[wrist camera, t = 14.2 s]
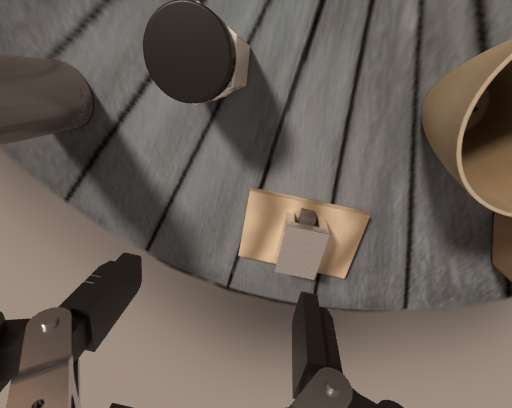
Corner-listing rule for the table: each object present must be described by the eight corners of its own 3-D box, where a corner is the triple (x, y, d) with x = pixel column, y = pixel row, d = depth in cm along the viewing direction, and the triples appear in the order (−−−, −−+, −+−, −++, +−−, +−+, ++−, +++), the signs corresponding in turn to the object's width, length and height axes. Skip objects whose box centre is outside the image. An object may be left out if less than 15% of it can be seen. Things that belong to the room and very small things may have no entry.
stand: (240, 250, 46) (235, 265, 43) (251, 187, 41) (247, 197, 38) (342, 272, 46) (347, 289, 42) (367, 211, 41) (375, 224, 37)
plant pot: (367, 94, 34) (425, 104, 20) (496, 6, 29) (698, -67, 15) (418, 185, 38) (495, 249, 24) (538, 121, 33) (728, 153, 19)
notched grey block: (275, 253, 44) (274, 271, 40) (286, 211, 40) (286, 225, 36) (311, 261, 44) (314, 280, 40) (325, 219, 40) (329, 234, 36)
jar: (203, 108, 37) (167, 119, 26) (174, 45, 34) (120, 29, 23) (262, 80, 35) (250, 80, 24) (236, 10, 32) (209, -25, 21)
